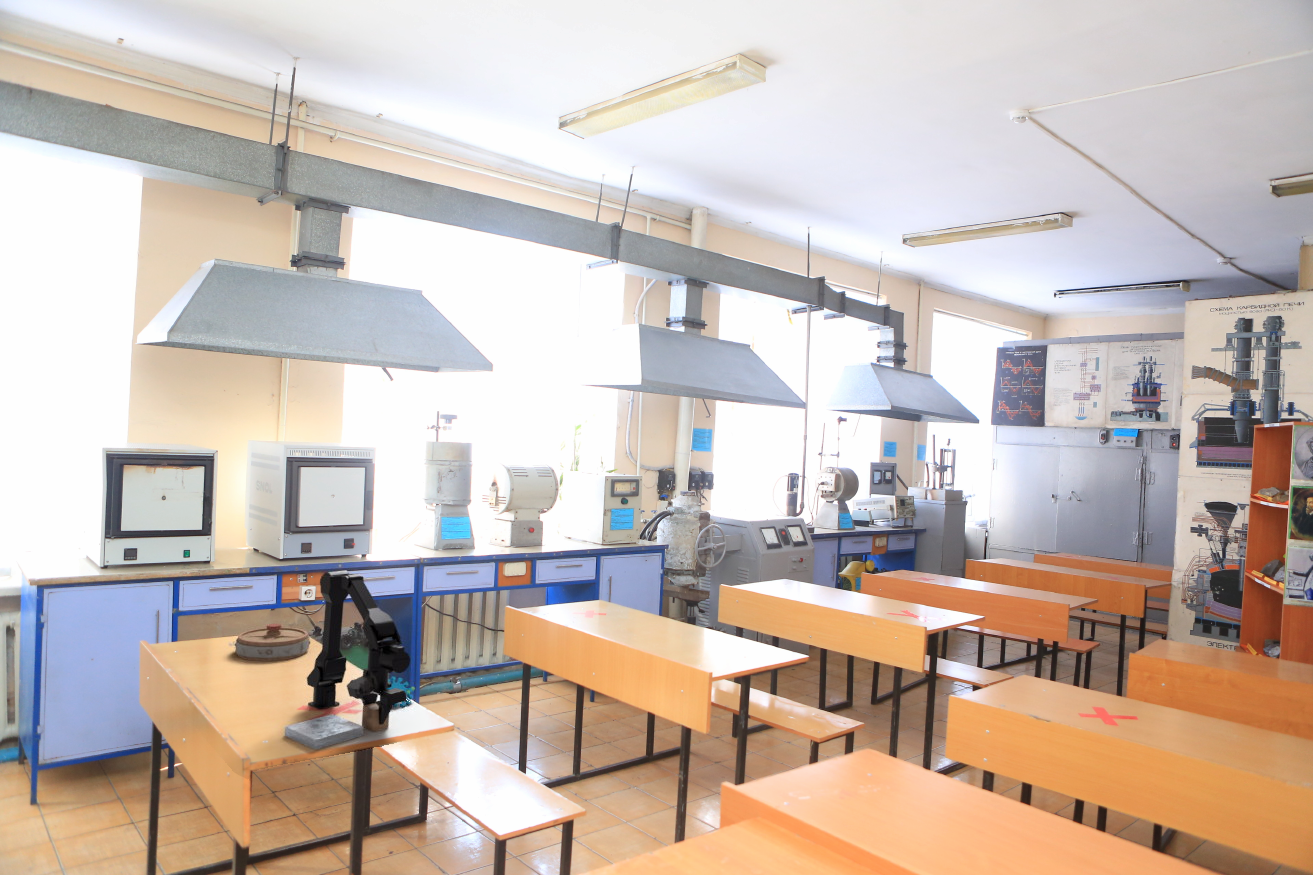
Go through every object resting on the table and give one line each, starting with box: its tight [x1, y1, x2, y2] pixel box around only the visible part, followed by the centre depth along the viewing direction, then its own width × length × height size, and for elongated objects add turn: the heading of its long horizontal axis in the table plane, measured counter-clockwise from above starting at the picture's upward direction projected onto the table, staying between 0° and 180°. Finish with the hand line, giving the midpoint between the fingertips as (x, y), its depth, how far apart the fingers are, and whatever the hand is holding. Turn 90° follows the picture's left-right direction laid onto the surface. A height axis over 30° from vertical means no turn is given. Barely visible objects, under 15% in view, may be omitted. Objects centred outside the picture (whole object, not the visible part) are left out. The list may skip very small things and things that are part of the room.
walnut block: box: [361, 703, 390, 733], centre depth 232 cm, size 5×5×6 cm
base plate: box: [284, 713, 364, 751], centre depth 223 cm, size 14×14×2 cm
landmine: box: [234, 623, 311, 662], centre depth 301 cm, size 24×24×10 cm
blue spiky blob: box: [387, 676, 415, 708], centre depth 253 cm, size 11×6×10 cm
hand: (375, 721), depth 232 cm, fingers closed on walnut block, 5 cm apart
